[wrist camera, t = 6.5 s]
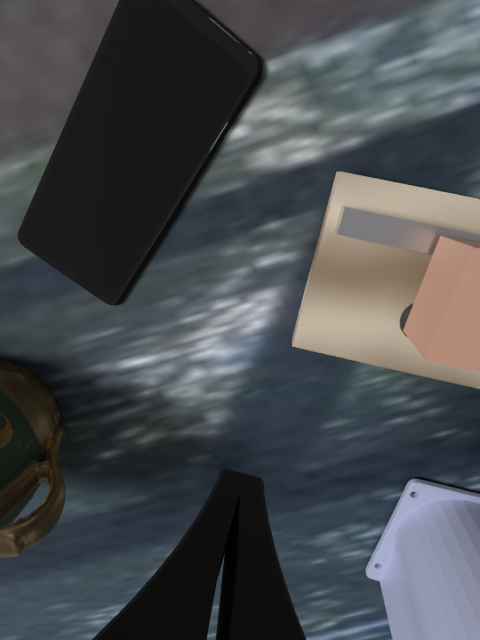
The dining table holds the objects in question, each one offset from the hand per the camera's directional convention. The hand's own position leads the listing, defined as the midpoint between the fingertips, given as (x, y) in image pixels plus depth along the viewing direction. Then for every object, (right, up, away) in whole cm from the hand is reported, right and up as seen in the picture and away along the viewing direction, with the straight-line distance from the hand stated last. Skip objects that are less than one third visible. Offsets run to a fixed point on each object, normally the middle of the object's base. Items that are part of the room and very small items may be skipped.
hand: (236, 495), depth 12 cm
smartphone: (-6, +14, +7) cm, 17 cm away
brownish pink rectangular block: (+10, +7, +5) cm, 13 cm away
